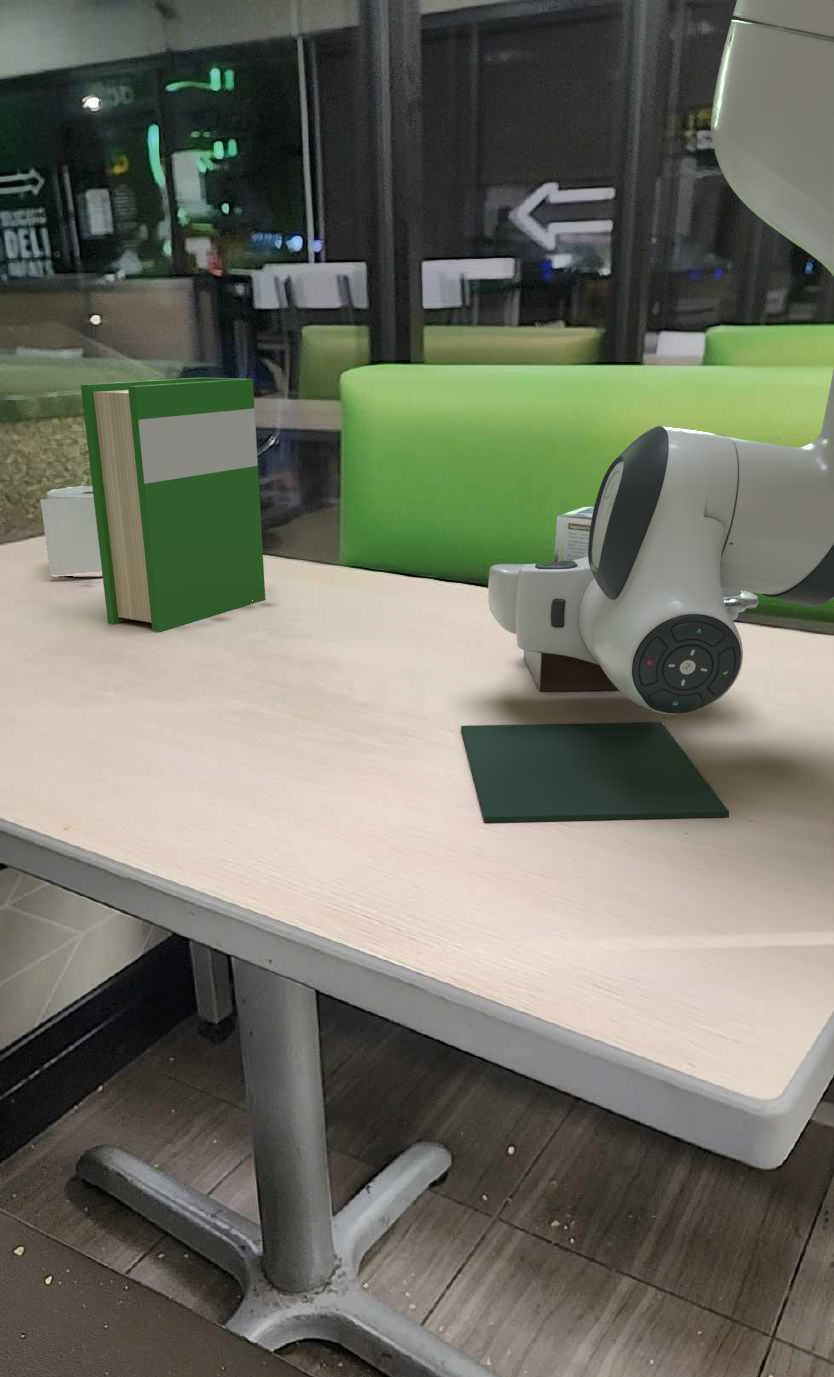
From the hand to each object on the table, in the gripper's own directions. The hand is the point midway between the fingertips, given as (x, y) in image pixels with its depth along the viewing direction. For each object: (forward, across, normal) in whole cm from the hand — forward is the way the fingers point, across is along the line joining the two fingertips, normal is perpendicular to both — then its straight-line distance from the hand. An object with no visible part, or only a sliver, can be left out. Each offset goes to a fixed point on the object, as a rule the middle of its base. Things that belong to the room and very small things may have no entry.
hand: (596, 571), depth 98 cm
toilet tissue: (+52, +55, +10) cm, 76 cm away
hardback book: (+28, +40, +10) cm, 50 cm away
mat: (-23, +5, +10) cm, 25 cm away
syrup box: (+1, 0, +10) cm, 10 cm away
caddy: (+1, 0, +10) cm, 10 cm away
